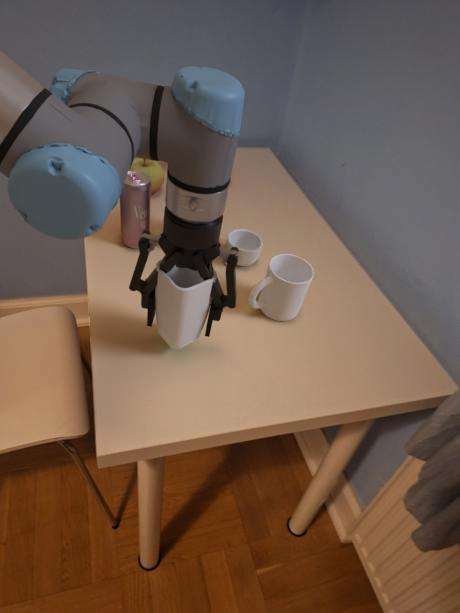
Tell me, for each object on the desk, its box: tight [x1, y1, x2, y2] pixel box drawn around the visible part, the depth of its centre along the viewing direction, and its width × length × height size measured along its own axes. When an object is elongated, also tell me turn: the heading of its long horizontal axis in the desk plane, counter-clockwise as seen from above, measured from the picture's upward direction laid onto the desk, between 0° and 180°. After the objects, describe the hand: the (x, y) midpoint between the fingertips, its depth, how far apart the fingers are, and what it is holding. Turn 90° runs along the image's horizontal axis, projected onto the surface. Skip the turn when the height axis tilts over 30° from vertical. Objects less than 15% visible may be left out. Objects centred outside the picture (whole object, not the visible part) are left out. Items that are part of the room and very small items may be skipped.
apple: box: [129, 157, 165, 195], centre depth 100 cm, size 10×10×8 cm
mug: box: [248, 253, 315, 322], centre depth 76 cm, size 12×8×10 cm
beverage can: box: [119, 171, 152, 249], centre depth 83 cm, size 6×6×15 cm
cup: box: [155, 259, 218, 350], centre depth 64 cm, size 7×7×15 cm
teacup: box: [225, 228, 264, 267], centre depth 88 cm, size 10×8×5 cm
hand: (179, 325), depth 67 cm, fingers closed on cup, 9 cm apart
